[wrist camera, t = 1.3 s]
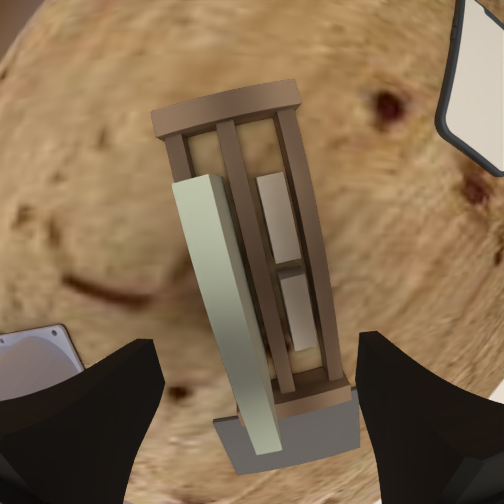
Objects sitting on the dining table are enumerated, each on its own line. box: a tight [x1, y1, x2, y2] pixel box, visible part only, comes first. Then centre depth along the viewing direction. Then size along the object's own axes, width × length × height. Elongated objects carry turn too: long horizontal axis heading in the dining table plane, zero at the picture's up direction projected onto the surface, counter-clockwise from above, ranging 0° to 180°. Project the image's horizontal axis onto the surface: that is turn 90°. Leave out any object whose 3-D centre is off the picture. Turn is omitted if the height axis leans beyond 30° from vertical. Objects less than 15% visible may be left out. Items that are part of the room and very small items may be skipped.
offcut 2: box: [275, 264, 318, 352], centre depth 20 cm, size 2×5×2 cm, turn 14°
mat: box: [213, 387, 360, 475], centre depth 24 cm, size 12×8×1 cm, turn 103°
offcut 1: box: [254, 172, 301, 264], centre depth 19 cm, size 2×5×2 cm, turn 13°
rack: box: [150, 79, 352, 427], centre depth 19 cm, size 8×21×3 cm, turn 13°
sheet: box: [172, 174, 282, 455], centre depth 16 cm, size 1×12×10 cm, turn 13°
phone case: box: [435, 0, 504, 177], centre depth 18 cm, size 9×2×16 cm
